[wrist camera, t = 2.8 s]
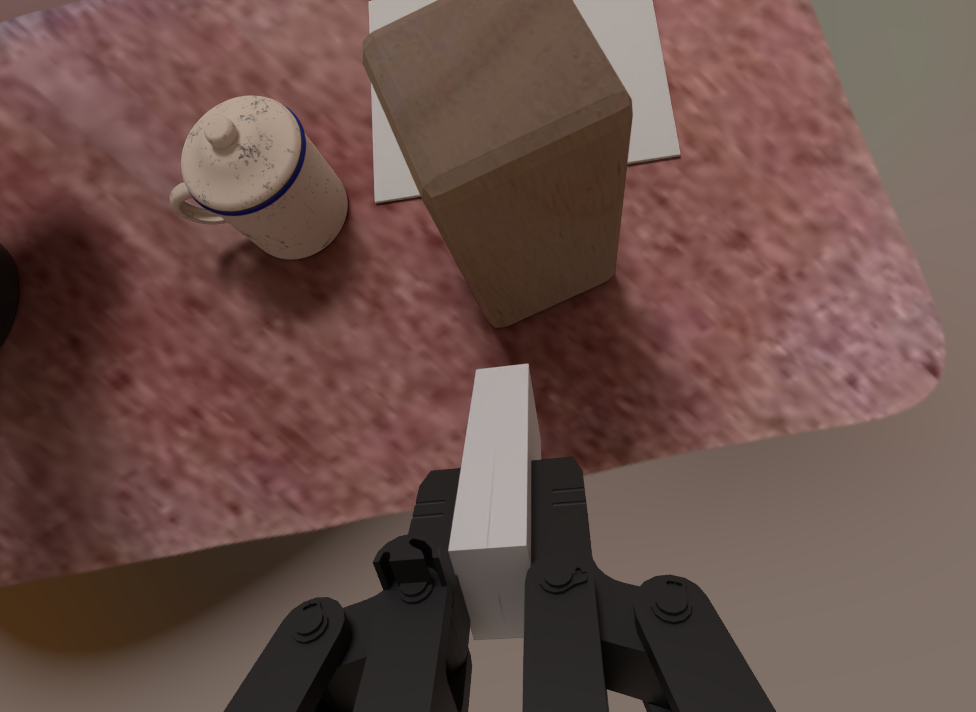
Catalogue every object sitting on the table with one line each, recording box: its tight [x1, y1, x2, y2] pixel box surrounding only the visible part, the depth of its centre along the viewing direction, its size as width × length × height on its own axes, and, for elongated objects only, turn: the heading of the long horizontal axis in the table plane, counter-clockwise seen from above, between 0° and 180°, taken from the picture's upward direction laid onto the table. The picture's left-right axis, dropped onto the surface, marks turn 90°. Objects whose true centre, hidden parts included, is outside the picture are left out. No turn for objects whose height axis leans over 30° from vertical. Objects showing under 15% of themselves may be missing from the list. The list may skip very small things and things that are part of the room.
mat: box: [369, 0, 680, 204], centre depth 49 cm, size 24×20×1 cm
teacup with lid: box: [170, 96, 348, 259], centre depth 44 cm, size 12×9×12 cm
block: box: [363, 0, 633, 328], centre depth 36 cm, size 10×10×20 cm
